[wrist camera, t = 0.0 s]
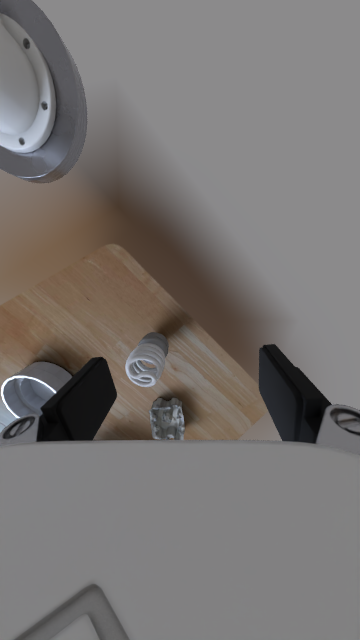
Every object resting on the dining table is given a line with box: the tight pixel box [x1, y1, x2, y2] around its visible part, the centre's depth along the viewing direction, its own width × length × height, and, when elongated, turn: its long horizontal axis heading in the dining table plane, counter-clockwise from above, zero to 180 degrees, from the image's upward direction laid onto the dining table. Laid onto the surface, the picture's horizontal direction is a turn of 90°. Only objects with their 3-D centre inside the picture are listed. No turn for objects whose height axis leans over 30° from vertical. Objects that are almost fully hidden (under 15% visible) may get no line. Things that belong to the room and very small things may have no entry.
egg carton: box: [149, 398, 185, 440], centre depth 40 cm, size 11×8×4 cm
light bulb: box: [126, 332, 169, 387], centre depth 29 cm, size 6×6×12 cm
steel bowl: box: [1, 362, 72, 418], centre depth 39 cm, size 14×14×6 cm
